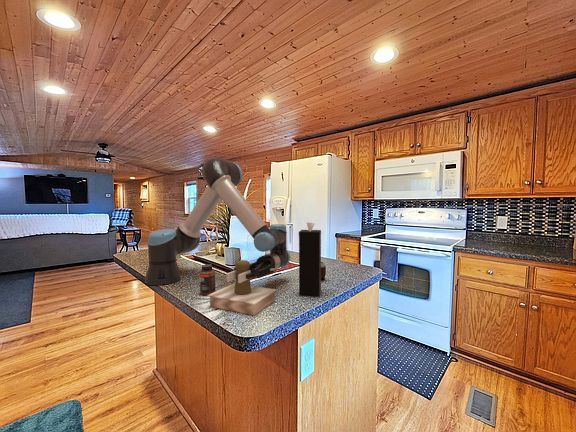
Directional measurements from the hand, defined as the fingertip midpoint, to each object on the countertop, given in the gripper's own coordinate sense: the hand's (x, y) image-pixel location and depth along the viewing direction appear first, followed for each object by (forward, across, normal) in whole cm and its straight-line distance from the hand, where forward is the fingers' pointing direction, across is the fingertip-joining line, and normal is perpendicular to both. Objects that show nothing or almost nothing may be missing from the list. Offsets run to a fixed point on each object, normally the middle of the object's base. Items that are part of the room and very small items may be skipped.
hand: (233, 278), depth 89 cm
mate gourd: (-43, -15, -11) cm, 47 cm away
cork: (-5, 0, -6) cm, 8 cm away
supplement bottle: (-8, +19, -11) cm, 23 cm away
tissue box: (-25, -18, -11) cm, 33 cm away
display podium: (-5, 0, -10) cm, 12 cm away
